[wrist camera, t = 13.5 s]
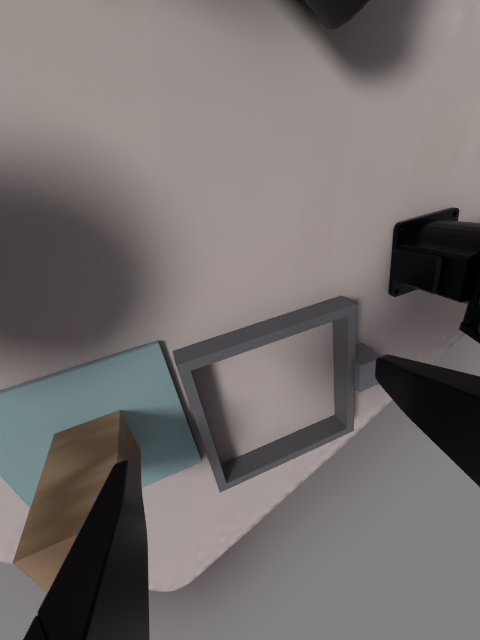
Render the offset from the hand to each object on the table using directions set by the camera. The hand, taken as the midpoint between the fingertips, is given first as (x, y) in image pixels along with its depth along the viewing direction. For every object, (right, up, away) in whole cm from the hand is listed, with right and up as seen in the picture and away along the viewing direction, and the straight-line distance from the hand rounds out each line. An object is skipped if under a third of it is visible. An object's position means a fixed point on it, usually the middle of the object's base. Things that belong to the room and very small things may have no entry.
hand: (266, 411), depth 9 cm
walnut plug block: (-11, -6, +12) cm, 18 cm away
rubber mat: (-12, -6, +12) cm, 18 cm away
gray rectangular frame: (+3, -3, +16) cm, 17 cm away
